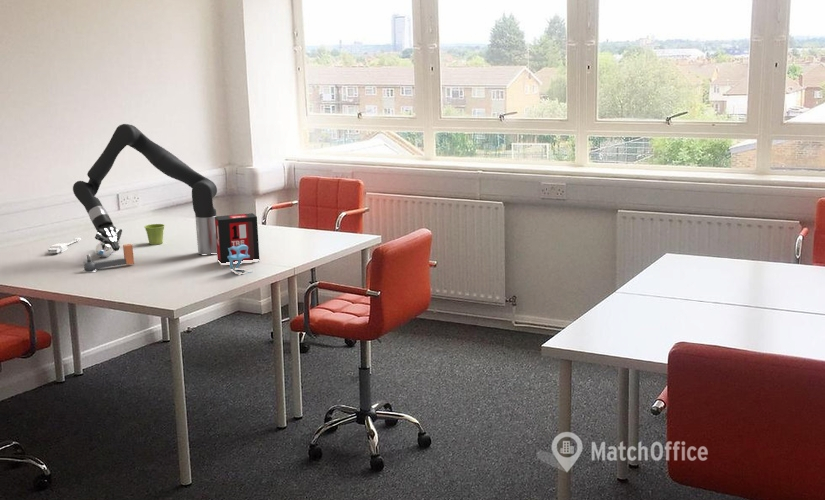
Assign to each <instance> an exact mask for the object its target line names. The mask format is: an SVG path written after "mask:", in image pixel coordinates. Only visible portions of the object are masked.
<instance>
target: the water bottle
mask: <svg viewBox="0 0 825 500" xmlns="http://www.w3.org/2000/svg"><path fill="white" fill-rule="evenodd" d="M115 235H116V238H117V234H115ZM118 244H119V245H120V239H119V241H118ZM94 251H95V254H96V255H97V257H99V258H102V259H106V258H108V257H109V256H110V255H111V254H112V253H113V252H115V250H113V249H112V247H111V245H110V244H104V243H103V242H101V241H99V243H98V244H97V245H96V247H95V250H94Z"/></svg>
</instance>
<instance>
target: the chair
mask: <svg viewBox="0 0 825 500" xmlns="http://www.w3.org/2000/svg"><path fill="white" fill-rule="evenodd" d="M231 249H233V250H235V251H236V252H237V254H235V255H232V253H231V251H230V250H231ZM228 250H229V253H230V254H229V256H227V257H228V259H229V262H230V265H229V267H230V269H233V270H234V265H233V260H239V261H238V263H237V264H236V265H235V267H236V268H239V267H240V265H241V264H240V263H241V261H242V259H244V258H249V257H250V255H248V254H247V251H248V246H246V245H244V244H241V245H239V246H238V247H236V246H232V247H231V248H228ZM241 250H246V252H245V254H246V255H245V254H241V253H240V251H241Z"/></svg>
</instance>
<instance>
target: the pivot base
mask: <svg viewBox="0 0 825 500" xmlns="http://www.w3.org/2000/svg"><path fill="white" fill-rule="evenodd" d="M85 257H86V262H88V263H90V262H92V258H91V257H92V256H91V254H86V256H85ZM98 270H99V269H95V270H91V271H85V270H82V273H84V274H91V273H95V272H98Z"/></svg>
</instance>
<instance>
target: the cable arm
mask: <svg viewBox="0 0 825 500" xmlns="http://www.w3.org/2000/svg"><path fill="white" fill-rule="evenodd" d="M133 247H134V246H133V244H131V243H128V244H127V243H126V244H123V245H122V248H123V258H116V259H110V260H103V261H101V260H100V261H91V262H90V263H88V262H87V261H86V262H84V263H83V268H84V270H85V271H91V270H95V269H97V268H100V269H103V268H109V267H110V268H111V267H117V266H124V265H126V266H128V265H129V266H130V265H135V258H134V248H133ZM97 270H98V269H97Z"/></svg>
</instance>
